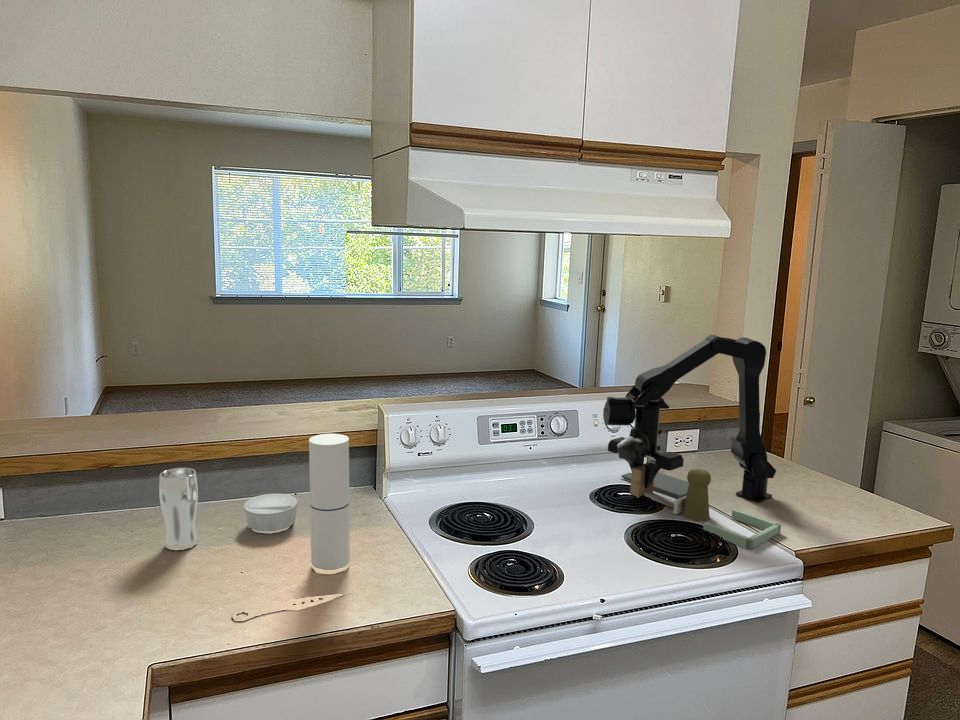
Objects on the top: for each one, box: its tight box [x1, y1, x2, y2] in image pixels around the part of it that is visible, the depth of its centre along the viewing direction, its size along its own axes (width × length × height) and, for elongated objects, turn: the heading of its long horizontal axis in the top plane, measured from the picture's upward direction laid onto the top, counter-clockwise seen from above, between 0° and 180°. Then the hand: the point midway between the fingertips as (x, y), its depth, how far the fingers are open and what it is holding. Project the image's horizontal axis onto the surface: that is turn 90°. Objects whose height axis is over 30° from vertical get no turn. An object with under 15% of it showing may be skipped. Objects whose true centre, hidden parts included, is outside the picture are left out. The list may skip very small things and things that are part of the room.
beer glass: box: [158, 467, 199, 546], centre depth 138 cm, size 7×7×15 cm
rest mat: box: [621, 471, 689, 500], centre depth 181 cm, size 10×18×1 cm, turn 41°
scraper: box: [629, 465, 686, 515], centre depth 168 cm, size 7×14×7 cm, turn 41°
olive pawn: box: [681, 468, 712, 522], centre depth 160 cm, size 6×6×11 cm
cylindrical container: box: [308, 433, 351, 570], centre depth 130 cm, size 7×7×25 cm
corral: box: [702, 508, 782, 550], centre depth 153 cm, size 13×11×2 cm
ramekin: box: [242, 493, 299, 531], centre depth 149 cm, size 11×11×5 cm
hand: (642, 486), depth 172 cm, fingers closed on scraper, 2 cm apart
